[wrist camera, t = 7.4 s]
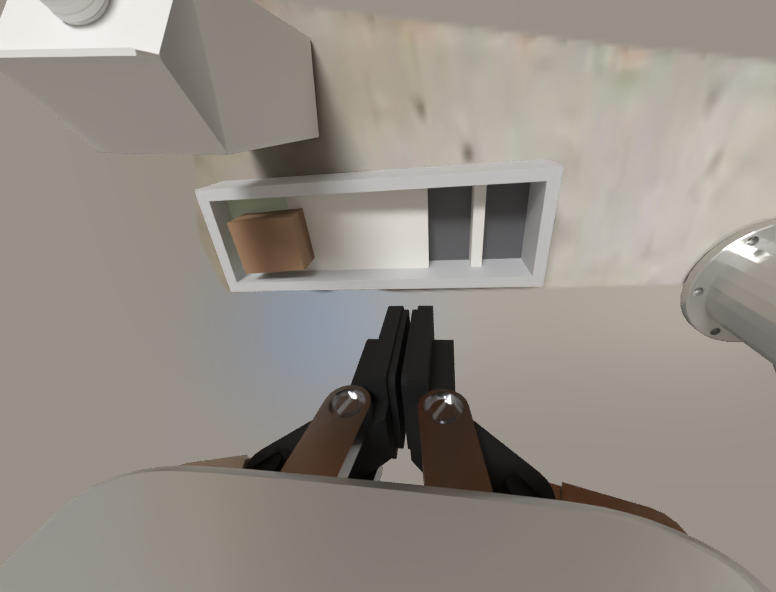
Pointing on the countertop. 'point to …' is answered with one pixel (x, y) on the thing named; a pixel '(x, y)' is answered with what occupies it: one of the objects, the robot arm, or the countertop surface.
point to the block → (272, 241)
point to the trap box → (401, 226)
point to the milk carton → (163, 73)
